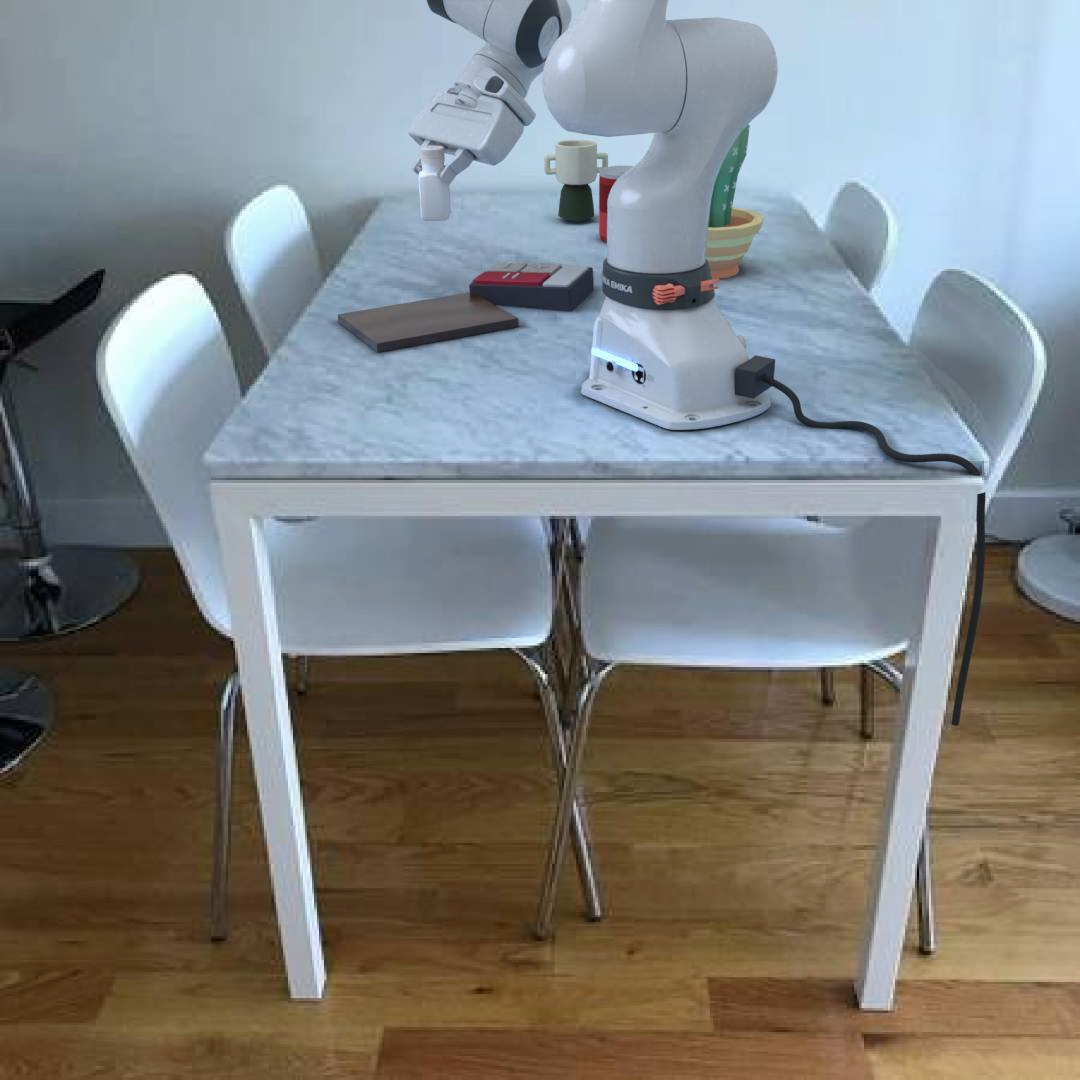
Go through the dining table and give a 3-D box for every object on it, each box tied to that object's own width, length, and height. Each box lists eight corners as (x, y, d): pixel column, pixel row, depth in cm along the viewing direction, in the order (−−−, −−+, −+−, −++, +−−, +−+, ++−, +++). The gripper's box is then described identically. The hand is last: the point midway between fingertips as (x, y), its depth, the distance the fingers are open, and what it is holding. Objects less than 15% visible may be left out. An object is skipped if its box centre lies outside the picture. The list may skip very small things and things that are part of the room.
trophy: (604, 214, 218) (605, 138, 211) (610, 224, 211) (611, 145, 205) (543, 216, 217) (542, 140, 211) (546, 226, 211) (545, 147, 204)
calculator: (495, 259, 180) (593, 261, 175) (497, 288, 182) (594, 291, 177) (467, 279, 171) (569, 282, 166) (469, 309, 173) (571, 313, 168)
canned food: (610, 246, 198) (611, 177, 193) (591, 235, 204) (591, 167, 199) (653, 241, 200) (655, 172, 195) (632, 230, 207) (634, 163, 202)
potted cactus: (754, 256, 191) (765, 87, 180) (767, 284, 178) (780, 103, 166) (654, 257, 192) (659, 88, 180) (660, 285, 178) (665, 104, 167)
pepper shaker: (450, 221, 169) (446, 149, 164) (420, 222, 169) (416, 150, 164) (451, 214, 172) (447, 144, 168) (422, 215, 172) (418, 145, 168)
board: (518, 326, 162) (518, 318, 162) (377, 352, 154) (376, 343, 153) (472, 300, 173) (472, 291, 173) (338, 322, 165) (337, 314, 164)
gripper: (432, 71, 173) (377, 151, 173) (515, 85, 158) (454, 173, 158) (461, 101, 178) (407, 180, 177) (543, 118, 163) (485, 203, 162)
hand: (430, 177), depth 167 cm, fingers closed on pepper shaker, 5 cm apart
